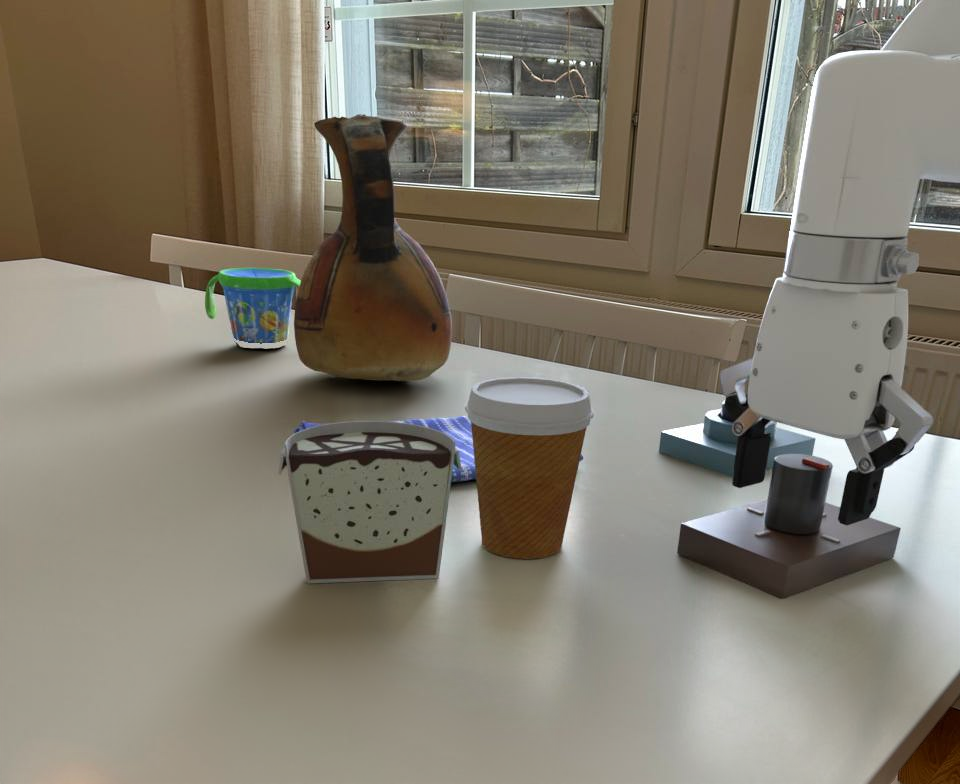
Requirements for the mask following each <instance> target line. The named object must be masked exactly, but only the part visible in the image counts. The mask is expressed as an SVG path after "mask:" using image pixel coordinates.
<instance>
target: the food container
mask: <svg viewBox="0 0 960 784" xmlns="http://www.w3.org/2000/svg"><path fill="white" fill-rule="evenodd" d="M324 424H325V425H319V426H315V427H311V428H307V429H304V430H301V431H299V432H297V433H293V434H292V435H290V436H288V438H287V439H286V440H285V441H284V442H285V443H284V448H283V449H282V450H281V454H280V461H279V468H278V475H280V476H281V475H282V472H283V470H284V469H285V468H286V469H287V474H288V480H289V486H290V491H291V497H292V498H291V499H292V504H293V509H294V515H295V521H296V526H297V528H296V529H297V533H298V534H297V535H298V540H299V546H300V551H301V557H302V562H303V568H304V574H305V575H304V576H305V580H306V584H329V583H353V582H358V583H359V582H381V581H382V582H383V581H404V580H407V581H408V580H428V579H429V580H430V579H439V578H440V572H441V563H442V557H443V548H444V541H445V532H446V525H447V516H448V508H449V503H450V502H449V501H450V493H451V485H452V482H451V478H452V470H453V465H454V466H456V467H457V468H458V470H459V471H462V467H461V462H460V456H459V451H458V450H457V448H456V447H455V441H454V440H453V439H452V438H451V437H450V436H448V435H447V434H445V433H443V432H441V431H438V430H435V429H432V428H428V427H424V426H419V425H414V424H407V423H399V422H392V421H385V420H352V421H339V422H332V423H324Z"/></svg>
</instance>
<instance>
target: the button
mask: <svg viewBox="0 0 960 784" xmlns="http://www.w3.org/2000/svg"><path fill="white" fill-rule="evenodd" d="M724 402H725V400H723V402H722V404H721V409H722V410H721V417H720V418H721V419H723V420H726V421H730V422H733V421H732V419H731V418H730V416H729V414H728V412H727V410H726V408H725V405H724Z"/></svg>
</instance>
